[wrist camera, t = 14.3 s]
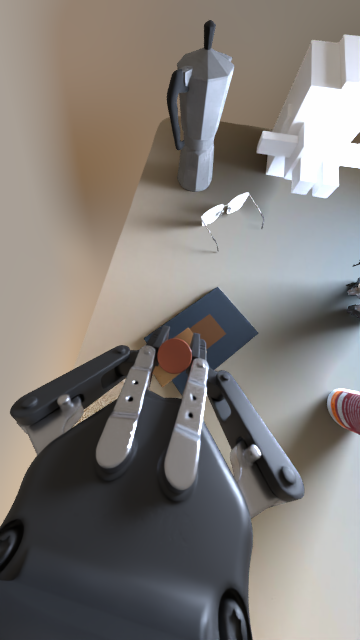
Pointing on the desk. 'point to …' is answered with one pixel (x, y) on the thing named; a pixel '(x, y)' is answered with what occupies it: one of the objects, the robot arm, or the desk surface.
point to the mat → (212, 329)
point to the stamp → (173, 357)
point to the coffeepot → (198, 109)
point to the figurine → (354, 309)
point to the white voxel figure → (318, 120)
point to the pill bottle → (345, 408)
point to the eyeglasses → (215, 211)
